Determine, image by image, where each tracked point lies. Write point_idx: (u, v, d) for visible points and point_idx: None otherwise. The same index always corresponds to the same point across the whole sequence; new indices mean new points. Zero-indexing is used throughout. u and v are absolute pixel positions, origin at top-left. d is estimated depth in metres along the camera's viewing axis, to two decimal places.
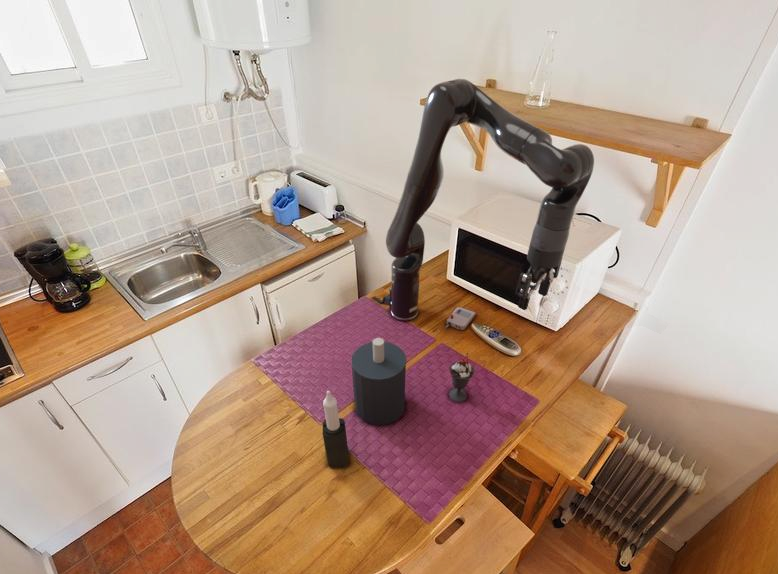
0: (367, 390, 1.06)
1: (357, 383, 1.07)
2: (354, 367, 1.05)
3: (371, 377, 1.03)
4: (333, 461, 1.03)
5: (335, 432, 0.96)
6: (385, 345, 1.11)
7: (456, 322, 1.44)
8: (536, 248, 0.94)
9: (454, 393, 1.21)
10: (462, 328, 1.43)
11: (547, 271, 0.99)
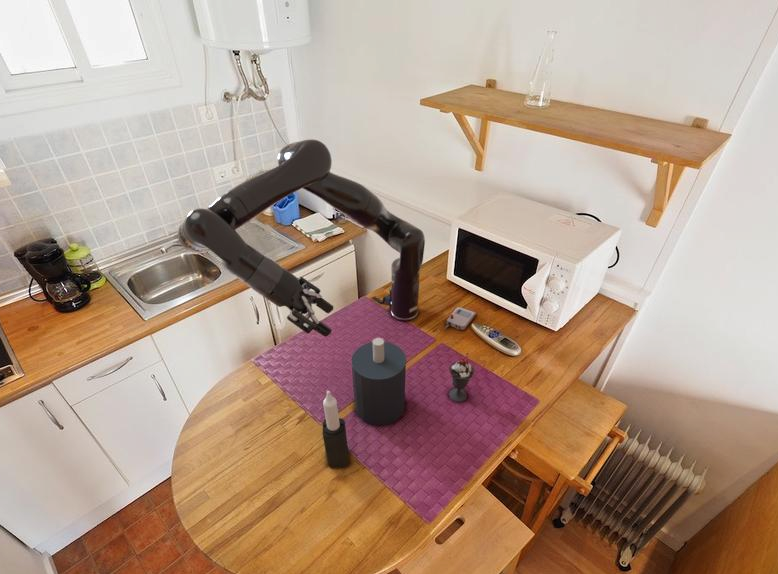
0: (367, 390, 1.06)
1: (357, 383, 1.07)
2: (354, 367, 1.05)
3: (371, 377, 1.03)
4: (333, 461, 1.03)
5: (335, 432, 0.96)
6: (385, 345, 1.11)
7: (456, 322, 1.44)
8: (269, 293, 0.89)
9: (454, 393, 1.21)
10: (462, 328, 1.43)
11: (303, 294, 0.94)
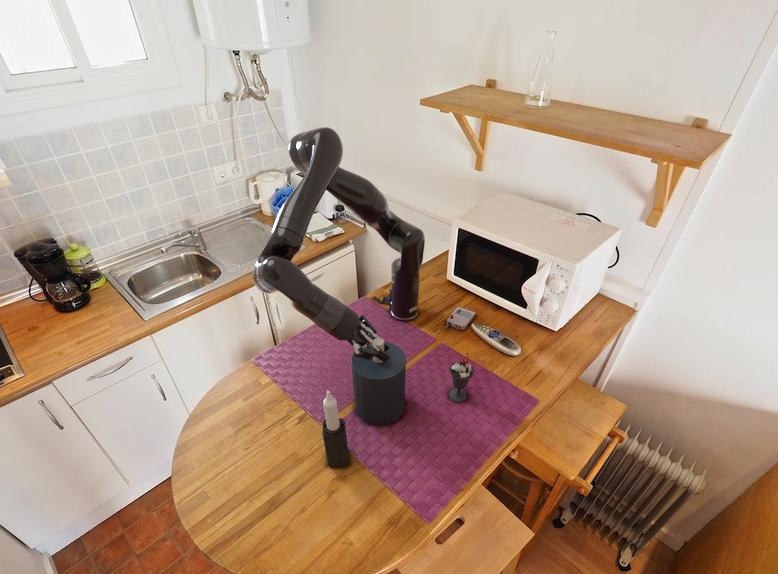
0: (367, 390, 1.06)
1: (357, 383, 1.07)
2: (354, 367, 1.05)
3: (371, 377, 1.03)
4: (333, 461, 1.03)
5: (335, 432, 0.96)
6: None
7: (456, 322, 1.44)
8: (332, 329, 0.96)
9: (454, 393, 1.21)
10: (462, 328, 1.43)
11: (360, 328, 1.01)
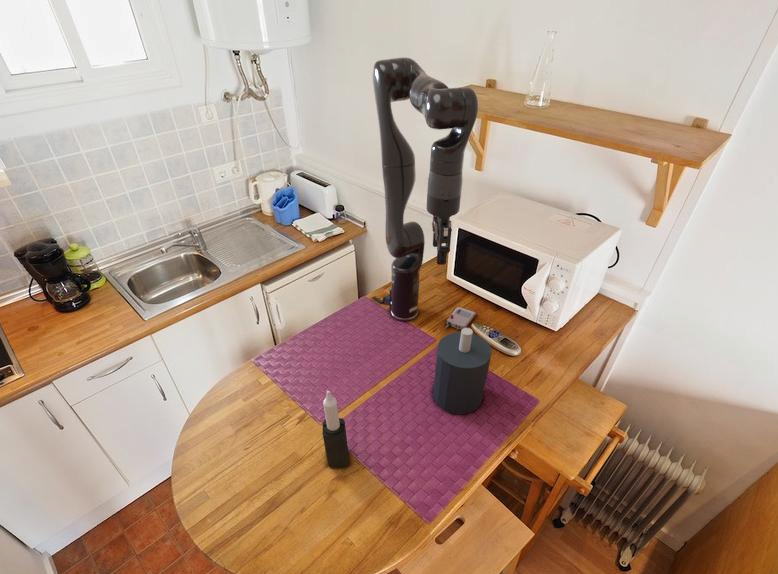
0: (454, 379, 1.09)
1: (443, 373, 1.10)
2: (442, 356, 1.08)
3: (461, 366, 1.05)
4: (333, 461, 1.03)
5: (335, 432, 0.96)
6: None
7: (456, 322, 1.44)
8: (444, 199, 0.93)
9: None
10: (462, 328, 1.43)
11: None
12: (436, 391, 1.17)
